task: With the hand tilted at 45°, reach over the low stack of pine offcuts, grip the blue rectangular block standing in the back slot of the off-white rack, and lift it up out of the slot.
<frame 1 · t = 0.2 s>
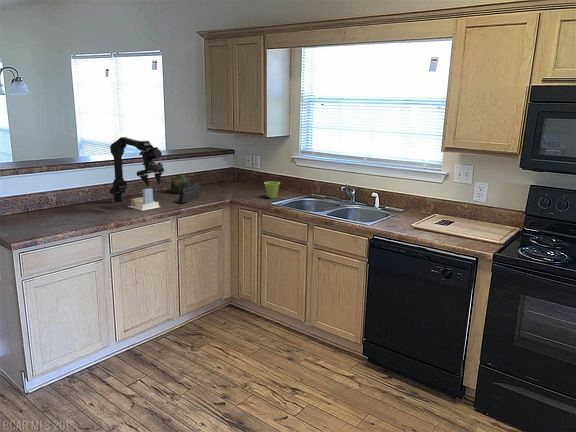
hand: (153, 185, 288), 16 cm above the worktop, tool tilted 15°, fingers open, 9 cm apart
blue rectangular block: (148, 207, 289), point 1 cm above the worktop, touching rack
squash: (180, 192, 347), on the worktop
magazine: (190, 200, 321), on the worktop
offcut stack: (140, 205, 293), point 1 cm above the worktop, touching rack
rack: (144, 208, 291), on the worktop
plant pot: (271, 197, 338), on the worktop
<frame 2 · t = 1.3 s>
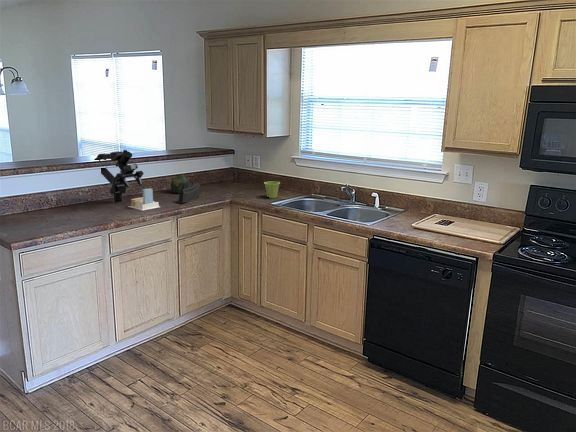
hand: (135, 186, 293), 14 cm above the worktop, tool tilted 45°, fingers open, 9 cm apart
nothing on the worktop moved.
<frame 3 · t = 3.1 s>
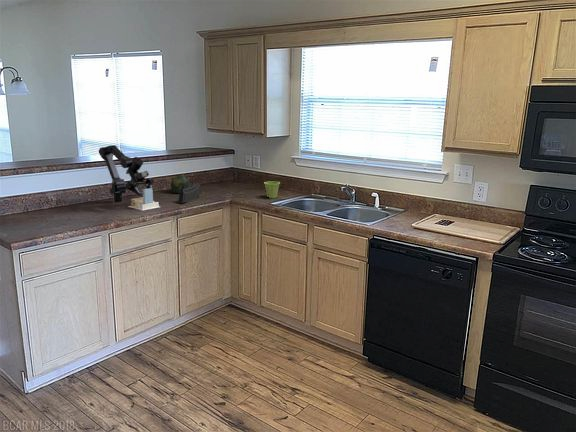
hand: (146, 194, 287), 10 cm above the worktop, tool tilted 45°, fingers open, 9 cm apart
nothing on the worktop moved.
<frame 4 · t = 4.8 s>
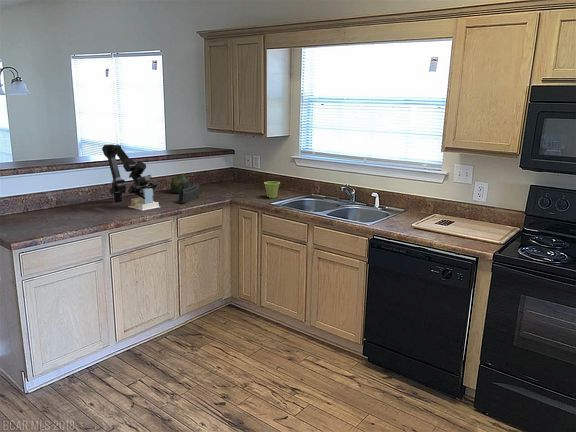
hand: (149, 198, 286), 8 cm above the worktop, tool tilted 45°, fingers closed on blue rectangular block, 6 cm apart
blue rectangular block: (148, 207, 289), point 2 cm above the worktop, touching gripper, rack
everything else where it was.
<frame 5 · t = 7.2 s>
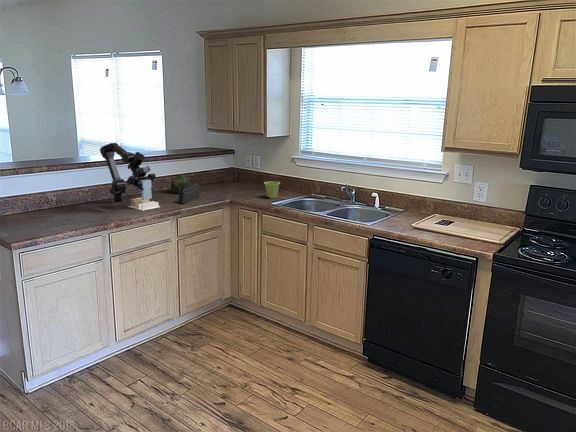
hand: (147, 189, 286), 13 cm above the worktop, tool tilted 45°, fingers closed on blue rectangular block, 6 cm apart
blue rectangular block: (146, 199, 288), point 7 cm above the worktop, touching gripper
everything else where it was.
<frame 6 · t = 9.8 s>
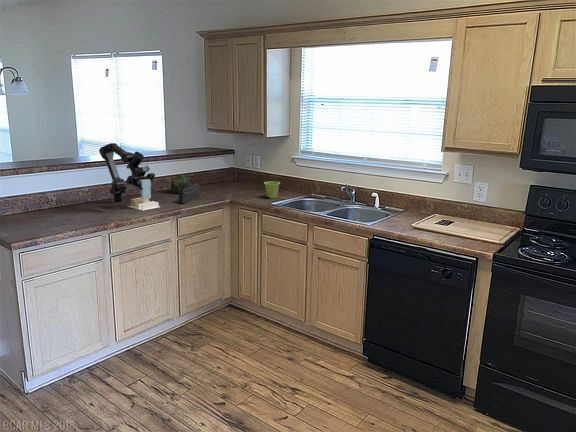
hand: (146, 188, 286), 13 cm above the worktop, tool tilted 45°, fingers closed on blue rectangular block, 6 cm apart
blue rectangular block: (146, 198, 288), point 7 cm above the worktop, touching gripper
everything else where it was.
at the end: the gripper is holding blue rectangular block; blue rectangular block point 7.1 cm above the worktop; offcut stack moved 0.0 cm from its start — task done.
